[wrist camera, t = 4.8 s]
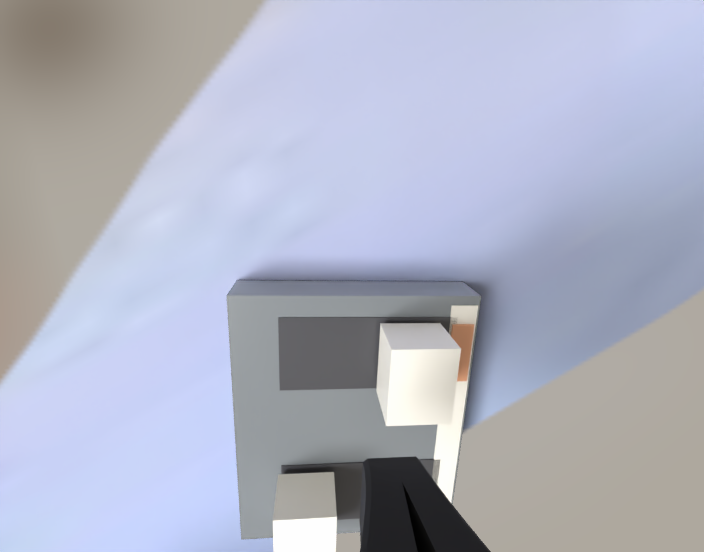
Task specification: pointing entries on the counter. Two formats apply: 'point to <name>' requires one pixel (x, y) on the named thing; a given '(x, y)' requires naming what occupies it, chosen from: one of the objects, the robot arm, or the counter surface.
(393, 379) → the switch tab
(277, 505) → the switch tab
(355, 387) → the switch panel
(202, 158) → the counter surface
